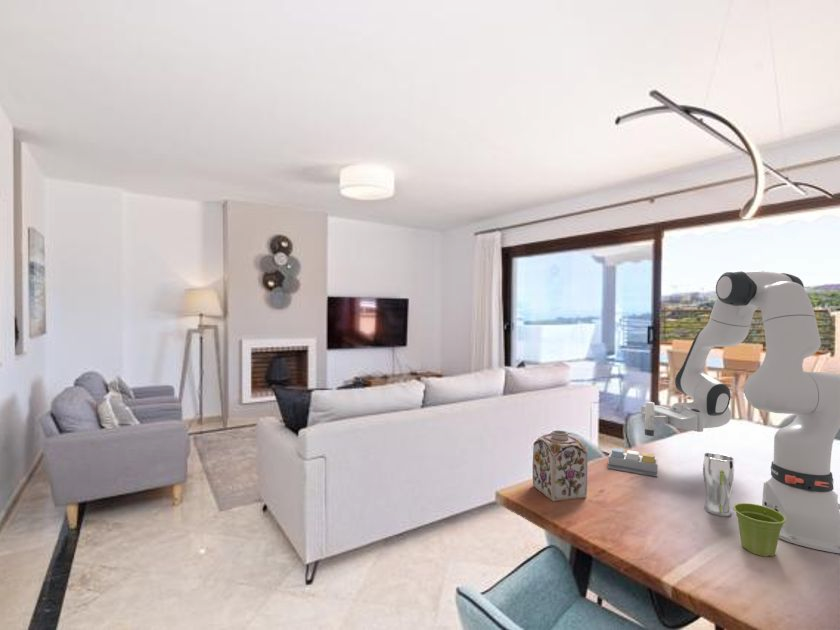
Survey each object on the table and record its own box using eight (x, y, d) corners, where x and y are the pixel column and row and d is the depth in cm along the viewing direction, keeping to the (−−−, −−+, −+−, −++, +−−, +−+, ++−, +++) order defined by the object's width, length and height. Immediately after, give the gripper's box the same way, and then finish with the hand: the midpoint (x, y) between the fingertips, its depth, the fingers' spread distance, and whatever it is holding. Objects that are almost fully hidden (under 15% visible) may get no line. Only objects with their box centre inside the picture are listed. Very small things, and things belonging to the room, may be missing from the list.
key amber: (654, 466, 145) (654, 457, 145) (642, 464, 147) (642, 455, 147) (654, 462, 148) (654, 454, 148) (642, 461, 150) (642, 452, 150)
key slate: (622, 461, 150) (623, 452, 150) (611, 459, 152) (611, 450, 152) (623, 457, 153) (623, 449, 153) (612, 456, 155) (612, 447, 155)
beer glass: (703, 513, 116) (704, 458, 116) (700, 503, 122) (702, 450, 122) (735, 519, 113) (736, 462, 113) (730, 509, 119) (732, 454, 119)
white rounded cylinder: (653, 436, 146) (654, 403, 145) (644, 435, 147) (645, 402, 147) (654, 434, 148) (654, 402, 148) (644, 433, 150) (645, 401, 149)
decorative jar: (552, 502, 122) (553, 439, 122) (531, 486, 133) (532, 427, 133) (588, 498, 125) (589, 436, 125) (565, 482, 136) (566, 425, 136)
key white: (638, 463, 148) (638, 454, 148) (626, 461, 149) (626, 453, 149) (638, 460, 151) (639, 451, 151) (627, 458, 153) (627, 450, 153)
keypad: (657, 477, 141) (657, 468, 141) (607, 468, 148) (607, 459, 148) (657, 464, 152) (657, 456, 152) (611, 457, 160) (611, 449, 159)
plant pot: (786, 567, 92) (787, 527, 92) (732, 551, 98) (732, 513, 98) (783, 547, 100) (784, 510, 100) (733, 534, 106) (734, 499, 105)
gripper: (661, 400, 160) (627, 401, 158) (707, 413, 140) (669, 415, 137) (661, 417, 160) (627, 418, 158) (706, 433, 140) (668, 435, 137)
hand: (647, 417), depth 147 cm, fingers closed on white rounded cylinder, 3 cm apart
